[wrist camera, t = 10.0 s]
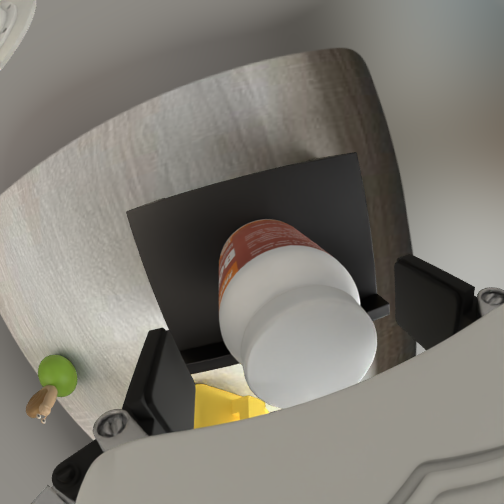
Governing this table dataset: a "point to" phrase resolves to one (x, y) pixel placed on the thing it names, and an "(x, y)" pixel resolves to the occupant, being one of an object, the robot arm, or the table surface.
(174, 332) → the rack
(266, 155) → the table surface
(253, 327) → the pill bottle
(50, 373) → the snail figurine
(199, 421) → the teapot
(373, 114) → the table surface
